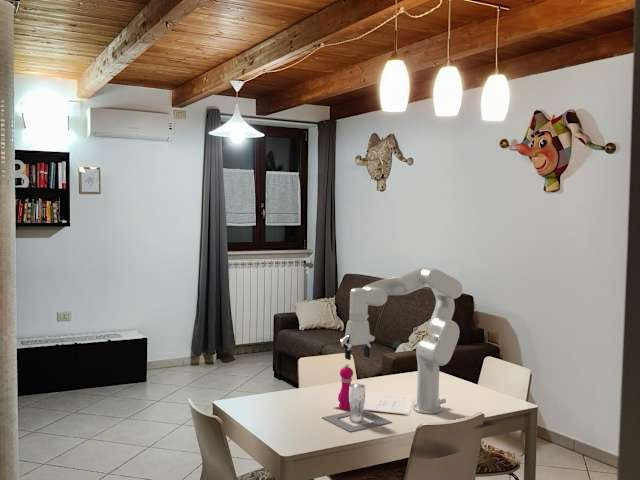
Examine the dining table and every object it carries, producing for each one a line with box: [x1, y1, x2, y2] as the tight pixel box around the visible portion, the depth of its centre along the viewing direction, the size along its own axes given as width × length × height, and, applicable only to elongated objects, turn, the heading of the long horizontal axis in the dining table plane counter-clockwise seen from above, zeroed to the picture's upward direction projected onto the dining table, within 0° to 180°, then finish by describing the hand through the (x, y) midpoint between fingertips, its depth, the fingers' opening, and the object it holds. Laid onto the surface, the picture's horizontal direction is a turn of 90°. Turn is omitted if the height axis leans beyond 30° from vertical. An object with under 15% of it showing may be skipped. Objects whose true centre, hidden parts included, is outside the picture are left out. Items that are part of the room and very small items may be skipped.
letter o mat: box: [321, 408, 393, 433], centre depth 272 cm, size 22×20×1 cm
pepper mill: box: [337, 363, 354, 411], centre depth 288 cm, size 7×7×20 cm
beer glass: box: [349, 383, 366, 424], centre depth 272 cm, size 7×7×15 cm
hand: (357, 357), depth 271 cm, fingers open, 9 cm apart
